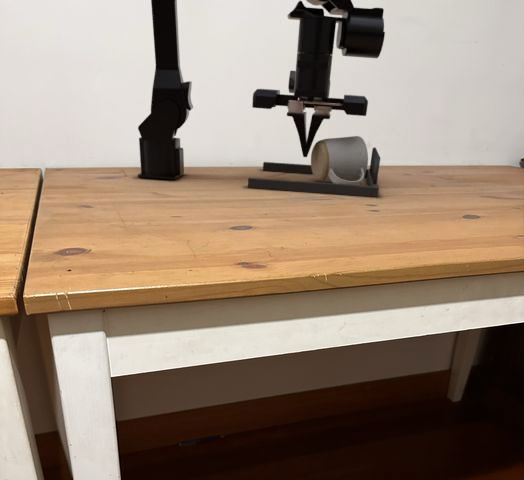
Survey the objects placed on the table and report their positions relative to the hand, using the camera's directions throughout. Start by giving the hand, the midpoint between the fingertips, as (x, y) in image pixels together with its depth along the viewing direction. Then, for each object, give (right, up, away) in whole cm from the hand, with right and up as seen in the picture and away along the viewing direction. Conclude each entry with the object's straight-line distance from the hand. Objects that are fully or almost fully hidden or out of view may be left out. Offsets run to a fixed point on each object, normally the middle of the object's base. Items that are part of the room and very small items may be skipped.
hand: (305, 156), depth 91 cm
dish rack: (+1, -4, +2) cm, 4 cm away
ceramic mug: (+6, -4, +1) cm, 8 cm away
